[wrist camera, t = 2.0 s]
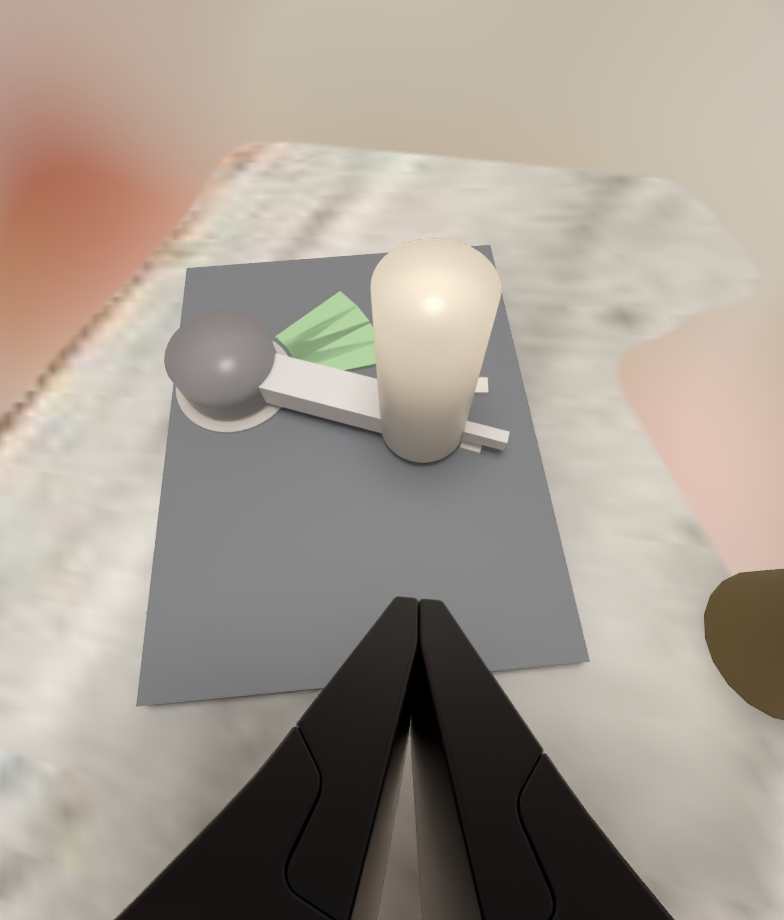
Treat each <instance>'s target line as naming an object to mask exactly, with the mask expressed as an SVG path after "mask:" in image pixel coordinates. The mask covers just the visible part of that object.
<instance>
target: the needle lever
mask: <svg viewBox="0 0 784 920" xmlns="http://www.w3.org/2000/svg"><path fill="white" fill-rule="evenodd" d="M500 297H501V282H500V278H499V275H498V273H497V271H496V269H495V267H494V266H493V264H492V263H491V262H490V261H489V260H488V259H487V258H486V257H485V256H484V255H483V254H482V253H480V252H479V251H477V250H476V249H474V248H472V247H470V246H468V245H466V244H463V243H461V242H457V241H453V240H448V239H439V238H428V239H420V240H415V241H411V242H408V243H405V244H403V245H401V246H399V247H397V248H395V249H393V250H392V251H390V252H389V253H388V254H387V255H385V256H384V257H383V258H382V260H381V261H380V262H379V263H378V265H377V266H376V268H375V270H374V272H373V275H372V278H371V303H372V316H373V330H374V343H375V357H376V370H377V379H376V378H372V377H368V376H364V375H360V374H356V373H352V372H348V371H344V370H340V369H336V368H332V367H328V366H324V365H320V364H316V363H312V362H308V361H304V360H300V359H296V358H292V357H288V356H284V355H280V354H277V352H276V349H275V347H274V344H273V342H272V339H271V336H270V334H269V332H268V330H267V328H266V327H265V325H264V324H263V323H262V322H261V321H260V320H259V319H257V318H256V317H254V316H253V315H251V314H248V313H246V312H243V311H239V310H232V309H221V310H214V311H209V312H206V313H203V314H200V315H198V316H196V317H194V318H192V319H191V320H189V321H188V322H186V323H185V324H183V325H182V326H181V327H180V328H179V329H178V330H177V331H176V332H175V333H174V335H173V336H172V338H171V339H170V341H169V343H168V345H167V348H166V352H165V360H164V362H165V368H166V371H167V374H168V376H169V378H170V379H171V380H172V382H173V383H174V384H175V385H176V387H177V388H178V389H179V391H180V392H181V393H182V394H183V396H184V397H185V398H186V400H187V401H188V402H189V403H190V405H191V406H192V407H193V408H195V409H196V410H197V411H199V412H200V413H202V414H204V415H207V416H210V417H214V418H223V419H225V418H236V417H240V416H244V415H246V414H249V413H251V412H253V411H255V410H257V409H258V408H260V407H261V406H263V405H264V404H265V403H269V404H273V405H277V406H280V407H284V408H288V409H292V410H296V411H299V412H303V413H307V414H311V415H314V416H318V417H322V418H326V419H330V420H333V421H337V422H341V423H345V424H348V425H352V426H356V427H360V428H364V429H367V430H371V431H375V432H379V433H382V436H383V439H384V441H385V443H386V444H387V445H388V447H389V448H390V449H391V450H392V451H393V452H394V453H395V454H397V455H398V456H400V457H402V458H404V459H406V460H409V461H413V462H419V463H428V462H434V461H437V460H440V459H442V458H444V457H446V456H448V455H449V454H450V453H452V452H453V451H454V450H455V449H456V448H457V446H458V445H459V443H460V441H461V439H462V440H465V441H469V442H472V443H476V444H480V445H484V446H488V447H492V448H495V449H499V450H503V451H504V449H505V447H506V445H507V442H508V438H509V433H510V432H509V431H505V430H501V429H497V428H493V427H489V426H486V425H482V424H478V423H474V422H470V421H467V418H468V415H469V411H470V407H471V404H472V400H473V396H474V393H475V389H476V385H477V382H478V378H479V374H480V371H481V367H482V363H483V360H484V356H485V352H486V349H487V345H488V342H489V338H490V334H491V331H492V327H493V323H494V320H495V316H496V312H497V309H498V305H499V301H500ZM462 436H463V437H462Z"/></svg>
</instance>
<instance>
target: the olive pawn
mask: <svg viewBox="0 0 784 920" xmlns="http://www.w3.org/2000/svg"><path fill="white" fill-rule="evenodd" d="M704 619H705V638H706V641H707V644H708V647H709V650H710V653H711V656H712V659H713V662H714V663H715V665H716V666H717V668H718V669H719V671H720V672H721V674H722V676H723V677H724V679H725V680H726V682H727V683H728V685H729V686H730V687H732V688H733V689H734V690H735V691H736V692H737V693H738V694H739V695H740V696H741V697H742V698H743V699H744V700H745V701H746V702H747V703H749V704H750V705H752V706H754V707H755V708H757V709H759V710H761V711H762V712H764V713H766V714H768V715H770V716H771V717H773V718H777V719H782V720H784V569H776V570H765V571H754V572H744V573H739V574H736V575H734V576H732V577H730V578H728V579H726V580H724V581H722V583H721V584H720V585H719V586H718V587H717V589H716V590H715V591H714V592H713V593H712V594H711V596H710V599H709V602H708V605H707V608H706V611H705V615H704Z"/></svg>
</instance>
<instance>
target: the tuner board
mask: <svg viewBox="0 0 784 920" xmlns="http://www.w3.org/2000/svg"><path fill="white" fill-rule="evenodd" d="M471 247H472V248H474V249H476V250H477V251H479V252H480V253H482V254H483V255H484V256H485V257H486V258H487V259H488V260H489V261H490V262H491V263H492V264H493V266H494V267H495V264H494V259H493V255H492V251H491V247H490V245H484V246H471ZM387 254H388V253H380V254H366V255H353V256H340V257H327V258H314V259H301V260H288V261H275V262H262V263H249V264H236V265H223V266H210V267H197V268H187V272H186V281H185V289H184V298H183V307H182V315H181V324H180V327H181V326H182V325H183V324H185V323H186V322H188V321H189V320H191V319H192V318H194V317H196V316H198V315H200V314H203V313H206V312H209V311H214V310H221V309H232V310H239V311H243V312H246V313H248V314H251V315H253V316H254V317H256V318H257V319H259V320H260V321H261V322H262V323H263V324H264V325H265V327H266V328H267V330H268V332H269V334H270V336H271V339H272V342H273V344H274V347H275V349H276V352H277V354H280V355H284V356H288V357H292V358H296V359H300V360H304V361H308V362H312V363H316V364H320V365H324V366H328V367H332V368H336V369H340V370H344V371H348V372H352V373H356V374H360V375H364V376H368V377H372V378H376V379H377V370H376V357H375V343H374V330H373V316H372V303H371V278H372V275H373V272H374V270H375V268H376V266H377V265H378V263H379V262H380V261H381V260H382V258H383V257H384V256H385V255H387ZM495 269H496V268H495ZM467 421H470V422H474V423H478V424H482V425H486V426H489V427H493V428H497V429H501V430H505V431H509V432H510V433H509V438H508V442H507V445H506V447H505V449H504V451H503V450H499V449H495V448H492V447H488V446H484V445H480V444H476V443H472V442H469V441H465V440H462V439H461V441H460V443H459V445H458V446H457V448H456V449H455V450H454V451H453V452H452V453H450V454H449V455H448V456H446V457H444V458H442V459H440V460H437V461H434V462H428V463H419V462H413V461H409V460H406V459H404V458H402V457H400V456H398V455H397V454H395V453H394V452H393V451H392V450H391V449H390V448H389V447H388V445H387V444H386V443H385V441H384V439H383V436H382V433H379V432H375V431H371V430H367V429H364V428H360V427H356V426H352V425H348V424H345V423H341V422H337V421H333V420H330V419H326V418H322V417H318V416H314V415H311V414H307V413H303V412H299V411H296V410H292V409H288V408H284V407H280V406H277V405H273V404H269V403H265V404H264V405H263V406H261V407H260V408H258V409H257V410H255V411H253V412H251V413H249V414H246V415H244V416H240V417H236V418H225V419H223V418H214V417H210V416H207V415H204V414H202V413H200V412H199V411H197V410H196V409H195V408H193V407H192V406H191V405H190V403H189V402H188V401H187V400H186V398H185V397H184V396H183V394H182V393H181V392H180V391H179V389H178V388H177V387H176V385H175V384H173V393H172V402H171V410H170V419H169V428H168V436H167V445H166V454H165V462H164V471H163V480H162V488H161V497H160V506H159V514H158V523H157V532H156V540H155V549H154V558H153V566H152V575H151V584H150V592H149V601H148V610H147V618H146V627H145V636H144V644H143V653H142V661H141V670H140V679H139V687H138V696H137V705H136V706H146V705H156V704H166V703H177V702H187V701H197V700H207V699H217V698H227V697H237V696H247V695H257V694H267V693H278V692H288V691H298V690H308V689H318V688H325V686H326V685H327V684H328V682H329V681H330V680H331V679H332V677H333V676H334V675H335V673H336V672H337V671H338V670H339V668H340V667H341V666H342V664H343V663H344V662H345V661H346V659H347V658H348V657H349V655H350V654H351V653H352V652H353V650H354V649H355V648H356V646H357V645H358V644H359V643H360V641H361V640H362V639H363V637H364V636H365V635H366V634H367V632H368V631H369V630H370V628H371V627H372V626H373V625H374V623H375V622H376V621H377V620H378V618H379V617H380V616H381V614H382V613H383V612H384V611H385V609H386V608H387V607H388V605H389V604H390V603H391V602H392V600H393V599H394V598H395V597H397V596H402V597H412V598H416V599H418V602H419V601H420V599H434V600H441V601H442V602H444V604H445V605H446V607H447V608H448V610H449V611H450V613H451V614H452V616H453V617H454V618H455V620H456V621H457V623H458V624H459V626H460V627H461V629H462V630H463V632H464V633H465V635H466V636H467V638H468V639H469V641H470V642H471V644H472V645H473V646H474V648H475V649H476V651H477V652H478V654H479V655H480V657H481V658H482V660H483V661H484V663H485V664H486V666H487V667H488V669H489V670H490V671H500V670H510V669H520V668H530V667H540V666H550V665H560V664H571V663H581V662H590V661H589V656H588V652H587V648H586V644H585V640H584V636H583V631H582V627H581V623H580V619H579V615H578V610H577V606H576V602H575V598H574V594H573V590H572V585H571V581H570V577H569V573H568V569H567V565H566V560H565V556H564V552H563V548H562V544H561V539H560V535H559V531H558V527H557V523H556V519H555V514H554V510H553V506H552V502H551V498H550V493H549V489H548V485H547V481H546V477H545V473H544V468H543V464H542V460H541V456H540V452H539V447H538V443H537V439H536V435H535V431H534V427H533V422H532V418H531V414H530V410H529V406H528V401H527V397H526V393H525V389H524V385H523V381H522V376H521V372H520V368H519V364H518V360H517V355H516V351H515V347H514V343H513V339H512V335H511V330H510V326H509V322H508V318H507V314H506V310H505V305H504V301H503V297H502V293H501V297H500V301H499V305H498V309H497V312H496V316H495V320H494V323H493V327H492V331H491V334H490V338H489V342H488V345H487V349H486V352H485V356H484V360H483V363H482V367H481V371H480V374H479V378H478V382H477V385H476V389H475V393H474V396H473V400H472V404H471V407H470V411H469V415H468V418H467ZM462 437H463V436H462Z"/></svg>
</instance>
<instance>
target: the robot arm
mask: <svg viewBox="0 0 784 920" xmlns="http://www.w3.org/2000/svg"><path fill="white" fill-rule="evenodd" d="M410 720H411V728H410ZM409 729H410V735H411V756H412V771H413V787H414V802H415V818H416V833H417V849H418V864H419V879H420V895H421V910H422V920H674V919H673V917H672V916H671V915H670V914H669V913H668V911H667V910H666V909H665V908H664V906H663V905H662V904H661V903H660V902H659V900H658V899H657V898H656V897H655V895H654V894H653V893H652V892H651V891H650V889H649V888H648V887H647V886H646V885H645V883H644V882H643V881H642V880H641V878H640V877H639V876H638V875H637V874H636V872H635V871H634V870H633V869H632V868H631V866H630V865H629V864H628V863H627V861H626V860H625V859H624V858H623V857H622V855H621V854H620V853H619V852H618V850H617V849H616V848H615V846H614V845H613V844H612V843H611V841H610V840H609V839H608V838H607V836H606V835H605V834H604V832H603V831H602V830H601V829H600V827H599V826H598V825H597V824H596V822H595V821H594V820H593V819H592V817H591V816H590V815H589V813H588V812H587V811H586V809H585V808H584V806H583V805H582V804H581V802H580V801H579V800H578V798H577V797H576V795H575V794H574V793H573V791H572V790H571V788H570V787H569V786H568V784H567V783H566V781H565V780H564V779H563V777H562V776H561V774H560V773H559V771H558V770H557V768H556V767H555V765H554V764H553V762H552V761H551V759H550V758H549V756H548V755H547V754H543V752H544V750H543V748H542V747H541V745H540V744H539V742H538V741H537V739H536V738H535V736H534V735H533V733H532V732H531V730H530V729H529V727H528V726H527V724H526V723H525V722H524V720H523V719H522V717H521V716H520V714H519V713H518V711H517V710H516V708H515V707H514V705H513V704H512V702H511V701H510V699H509V698H508V696H507V695H506V694H505V692H504V691H503V689H502V688H501V686H500V685H499V683H498V682H497V680H496V679H495V677H494V676H493V674H492V673H491V671H490V670H489V669H488V667H487V666H486V664H485V663H484V661H483V660H482V658H481V657H480V655H479V654H478V652H477V651H476V649H475V648H474V646H473V645H472V644H471V642H470V641H469V639H468V638H467V636H466V635H465V633H464V632H463V630H462V629H461V627H460V626H459V624H458V623H457V621H456V620H455V618H454V617H453V616H452V614H451V613H450V611H449V610H448V608H447V607H446V605H445V604H444V602H442V601H441V600H434V599H420V601H419V602H418V599H416V598H412V597H402V596H397V597H395V598H394V599H393V600H392V602H391V603H390V604H389V605H388V607H387V608H386V609H385V611H384V612H383V613H382V614H381V616H380V617H379V618H378V620H377V621H376V622H375V623H374V625H373V626H372V627H371V628H370V630H369V631H368V632H367V634H366V635H365V636H364V637H363V639H362V640H361V641H360V643H359V644H358V645H357V646H356V648H355V649H354V650H353V652H352V653H351V654H350V655H349V657H348V658H347V659H346V661H345V662H344V663H343V664H342V666H341V667H340V668H339V670H338V671H337V672H336V673H335V675H334V676H333V677H332V679H331V680H330V681H329V682H328V684H327V685H326V686H325V688H324V689H323V690H322V691H321V693H320V694H319V695H318V696H317V698H316V699H315V700H314V702H313V703H312V704H311V705H310V707H309V708H308V709H307V711H306V712H305V713H304V714H303V716H302V717H301V718H300V720H299V721H298V722H297V724H296V727H293V728H292V729H291V731H290V732H289V733H288V735H287V736H286V737H285V738H284V740H283V741H282V742H281V744H280V745H279V746H278V747H277V749H276V750H275V751H274V752H273V753H272V755H271V756H270V757H269V758H268V759H267V761H266V762H265V763H264V764H263V765H262V767H261V768H260V769H259V770H258V771H257V773H256V774H255V775H254V776H253V777H252V779H251V780H250V781H249V782H248V783H247V784H246V785H245V786H244V787H243V788H242V789H241V790H240V791H239V792H238V794H237V795H236V796H235V797H234V798H233V799H232V800H231V801H230V802H229V803H228V804H227V805H226V806H225V807H224V808H223V810H222V811H221V812H220V813H219V814H218V815H217V816H216V817H215V818H214V819H213V820H212V821H211V822H210V823H209V824H208V825H207V826H206V827H205V828H204V829H203V830H202V831H201V832H200V833H199V834H198V835H197V836H196V837H195V838H194V839H193V840H192V841H191V842H190V843H189V844H188V845H187V846H186V847H185V848H184V849H183V851H182V852H181V853H180V854H179V855H178V856H177V857H176V858H175V859H174V860H173V861H172V862H171V863H170V864H169V865H168V866H167V867H166V868H165V869H164V870H163V871H162V872H161V873H160V874H159V875H158V876H157V877H156V878H155V879H154V880H153V881H152V882H151V883H150V884H149V885H148V886H147V887H146V888H145V889H144V890H143V891H142V892H141V893H140V894H139V895H138V896H137V898H136V899H135V900H134V901H133V902H132V903H131V904H130V905H129V906H128V907H127V908H125V909H124V910H123V911H122V912H121V913H120V914H119V915H118V916H117V917H116V918H115V919H114V920H377V917H378V912H379V906H380V900H381V894H382V889H383V883H384V877H385V871H386V866H387V860H388V854H389V848H390V843H391V837H392V831H393V825H394V820H395V814H396V808H397V802H398V797H399V791H400V785H401V779H402V773H403V768H404V762H405V756H406V750H407V744H408V737H409Z"/></svg>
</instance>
